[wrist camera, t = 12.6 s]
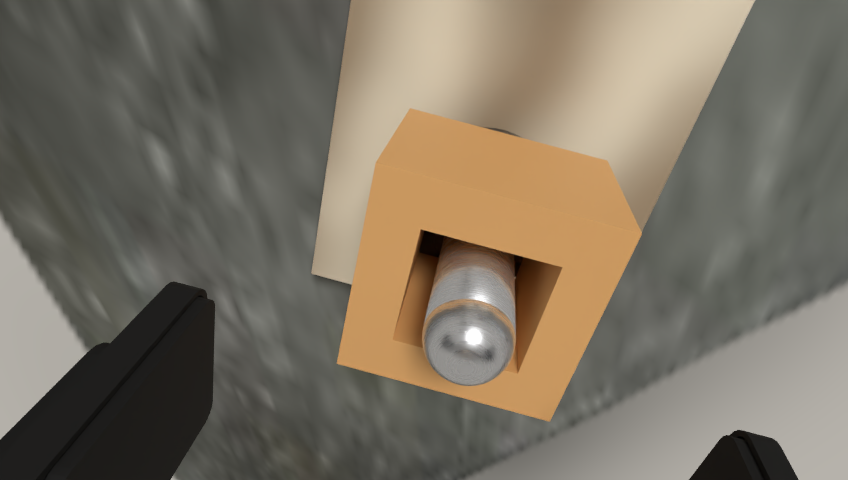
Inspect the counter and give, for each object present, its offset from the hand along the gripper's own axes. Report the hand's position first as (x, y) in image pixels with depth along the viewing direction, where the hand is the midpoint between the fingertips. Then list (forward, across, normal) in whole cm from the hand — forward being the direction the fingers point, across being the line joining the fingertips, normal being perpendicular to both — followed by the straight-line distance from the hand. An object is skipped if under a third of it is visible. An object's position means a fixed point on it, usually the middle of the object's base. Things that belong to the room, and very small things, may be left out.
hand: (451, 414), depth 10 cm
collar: (+9, 0, +1) cm, 9 cm away
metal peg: (+11, 0, +1) cm, 11 cm away
